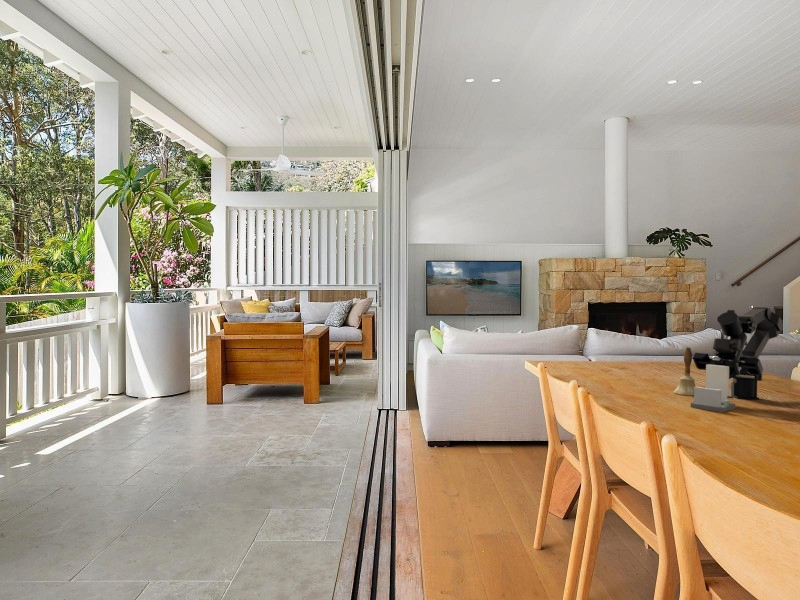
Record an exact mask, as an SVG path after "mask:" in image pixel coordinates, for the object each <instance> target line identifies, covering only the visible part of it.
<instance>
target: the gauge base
mask: <svg viewBox="0 0 800 600" xmlns="http://www.w3.org/2000/svg"><path fill="white" fill-rule="evenodd" d="M693 398H694V399H693V402H691V403H690V408H694V409H700V410H707V411H714V412H720V413H724V412H728V411H731V410H734V409H736V403H730V402H729V401H730V400H729V401H724V403H722V402H721V390H718V389H710V388H706V387H701V386H696V387H694V396H693Z"/></svg>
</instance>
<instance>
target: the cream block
mask: <svg viewBox="0 0 800 600" xmlns="http://www.w3.org/2000/svg"><path fill="white" fill-rule="evenodd" d="M705 388H710V389H718V390H721V402H722V403H724V401H730V400H729V399H732V400H733V399H734V396H732V395H731V396H730V394H729V393H730V379H729V366H719V365H709V364H708V365H706V370H705Z"/></svg>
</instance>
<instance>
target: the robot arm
mask: <svg viewBox="0 0 800 600" xmlns="http://www.w3.org/2000/svg"><path fill="white" fill-rule="evenodd" d="M716 318H717V323H718V326H719V328H720V331H721V333H722V335H723V336H725V337H724V338H714V341H713V345H712V349H713V350H714V351H715V352H714V354H715V356H712V357H710V354H709V353H708V352H707V353H706V352H705V353H704V352H694V353H693V354H692V361H693V362H694V365H695V368H696V369H698V370H700V371H701V370H704V371H706V365H708V364H709V365H719V366H729V380H730V379H732V382H731V384H730V385H731V387H730V395H731V397H733V398H737V399H743V400H744V399H747V400H749V399H750V400H760V397H759V396H758V381H759V382H762V381H763V372H764V371H763V370H764V368H763V364H762V362H761V359H760V355H761V354H762V353H763V351H764V348H765V347H766V345H767V344H768V342H769V340H772V339H775V338H777V337H778V336H779V335H780V334H781V332H782V331H783V329H784V324H783V320H782V319H781V317H780V316H779V315H778V314H776V313H775V312H773V311H772V310H771V308H770V307H765V306H761V307H760V306H755V307H752V309H750V310H749V311H747V312H746V313H743V314H737V313H736V311H735V310H734V309H728V310H727V311H726V312H723V313H721V314H719V315H718V316H717V317H716ZM747 334H748V335H750V334H752V336H751V337H750V339H749V340H748V336H747ZM747 340H748V341H747Z"/></svg>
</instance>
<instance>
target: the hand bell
mask: <svg viewBox="0 0 800 600" xmlns="http://www.w3.org/2000/svg"><path fill="white" fill-rule="evenodd" d="M692 357H693V353H692V349H691V347H688V346H687V347H686V349H685V350H684V353H683V362H684V375H683V376H681V377H679V382H678V385H677V387H676V388H675V390H674V389H673V393H674V394H677V395H680V396H681V395H682V396H690V397H691V396H692V397H694V387H697V386H696V382H695V381H696V380H695V378H694V377H692V375H691V364H692V361H693V358H692Z"/></svg>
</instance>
